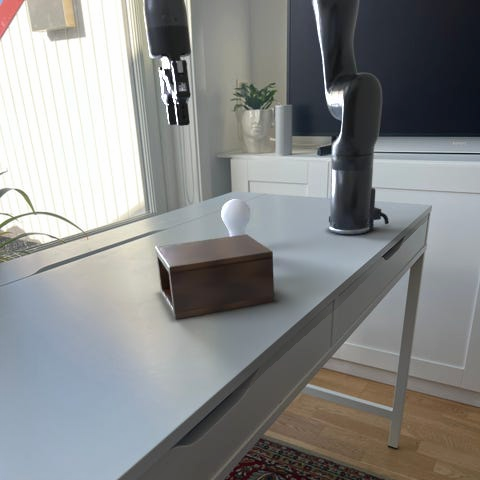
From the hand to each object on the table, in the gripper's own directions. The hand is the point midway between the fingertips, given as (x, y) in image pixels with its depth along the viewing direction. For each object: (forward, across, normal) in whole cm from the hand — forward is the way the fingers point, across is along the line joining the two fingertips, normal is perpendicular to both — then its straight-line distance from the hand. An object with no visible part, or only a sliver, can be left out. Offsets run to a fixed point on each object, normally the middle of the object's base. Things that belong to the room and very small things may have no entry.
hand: (178, 125), depth 91 cm
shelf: (+26, -26, +3) cm, 37 cm away
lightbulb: (+26, -2, -9) cm, 28 cm away
